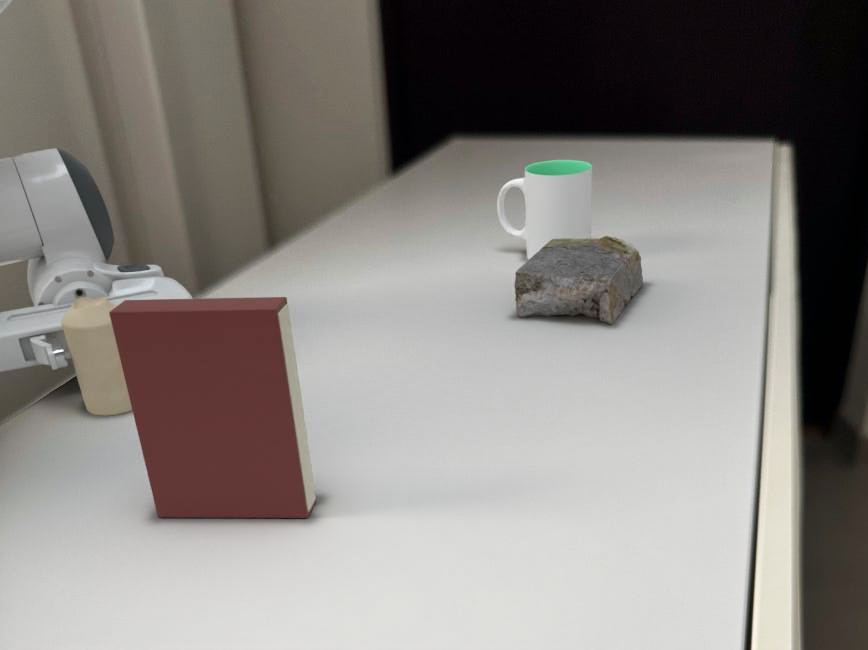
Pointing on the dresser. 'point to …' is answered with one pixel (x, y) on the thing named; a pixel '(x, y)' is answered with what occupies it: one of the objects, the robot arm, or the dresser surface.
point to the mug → (552, 203)
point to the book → (217, 406)
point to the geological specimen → (579, 278)
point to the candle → (96, 356)
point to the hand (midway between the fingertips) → (102, 352)
